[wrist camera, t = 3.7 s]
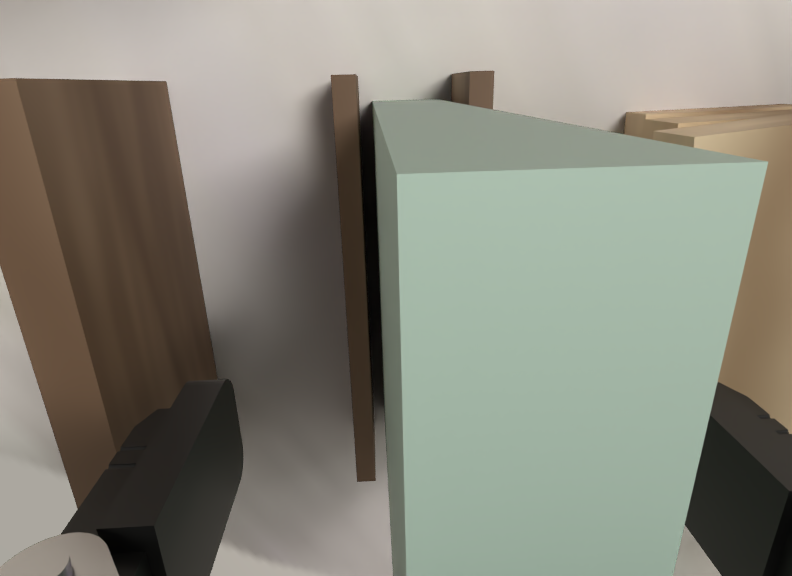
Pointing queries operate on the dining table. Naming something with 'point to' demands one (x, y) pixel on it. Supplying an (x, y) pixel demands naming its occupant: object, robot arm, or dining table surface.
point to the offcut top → (758, 263)
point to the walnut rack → (138, 256)
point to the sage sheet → (548, 336)
